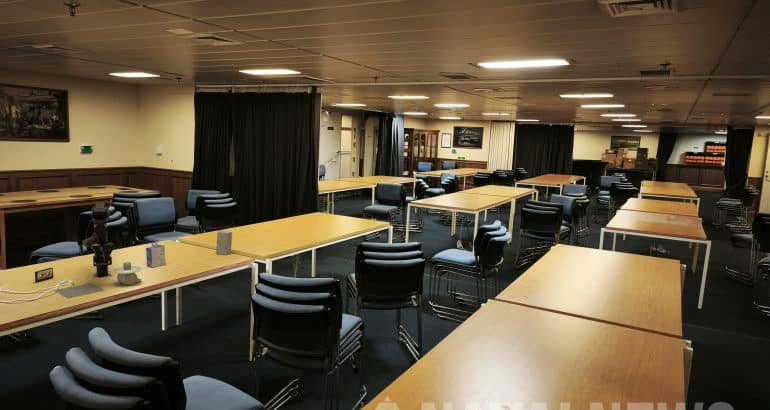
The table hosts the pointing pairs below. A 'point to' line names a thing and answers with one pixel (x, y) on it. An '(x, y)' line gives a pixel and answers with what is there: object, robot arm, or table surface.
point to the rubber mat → (79, 290)
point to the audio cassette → (44, 275)
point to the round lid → (127, 269)
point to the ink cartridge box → (155, 255)
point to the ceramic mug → (128, 278)
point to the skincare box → (224, 242)
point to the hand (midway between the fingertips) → (101, 260)
